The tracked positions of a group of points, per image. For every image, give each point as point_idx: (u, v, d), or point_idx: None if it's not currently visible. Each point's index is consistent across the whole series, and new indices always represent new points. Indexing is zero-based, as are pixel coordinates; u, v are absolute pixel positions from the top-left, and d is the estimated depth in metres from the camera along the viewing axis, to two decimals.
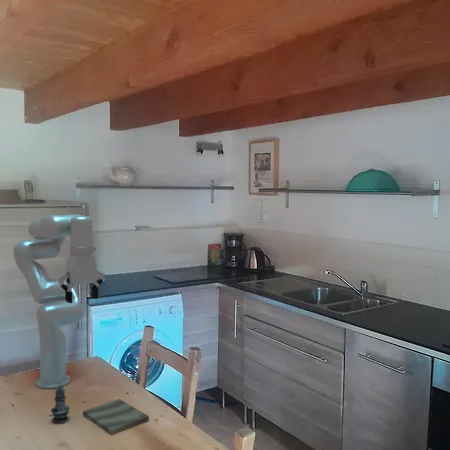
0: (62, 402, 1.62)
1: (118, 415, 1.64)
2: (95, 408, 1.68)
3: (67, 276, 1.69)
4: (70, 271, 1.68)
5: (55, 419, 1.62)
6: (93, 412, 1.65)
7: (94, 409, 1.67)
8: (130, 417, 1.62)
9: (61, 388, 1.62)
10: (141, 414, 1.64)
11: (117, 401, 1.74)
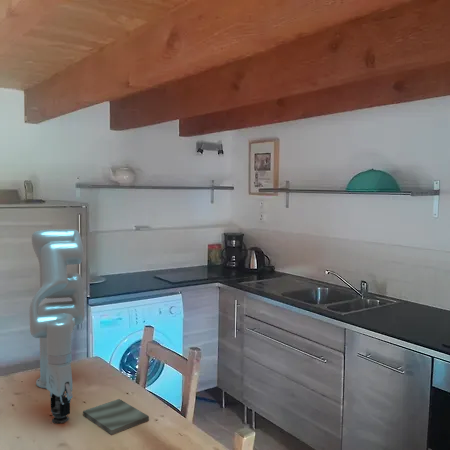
0: None
1: (118, 415, 1.64)
2: (95, 408, 1.68)
3: None
4: (71, 379, 1.60)
5: (55, 419, 1.62)
6: (93, 412, 1.65)
7: (94, 409, 1.67)
8: (130, 417, 1.62)
9: None
10: (141, 414, 1.64)
11: (117, 401, 1.74)
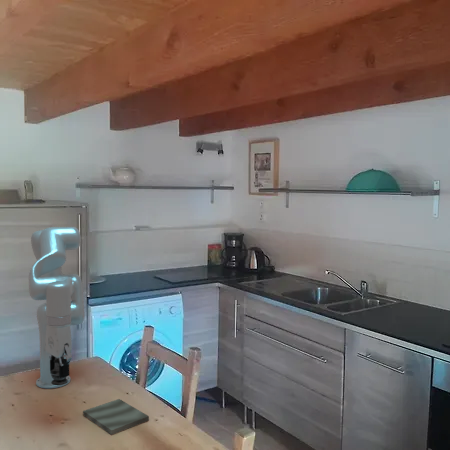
0: None
1: (118, 415, 1.64)
2: (95, 408, 1.68)
3: None
4: (70, 340, 1.59)
5: (54, 381, 1.62)
6: (93, 412, 1.65)
7: (94, 409, 1.67)
8: (130, 417, 1.62)
9: None
10: (141, 414, 1.64)
11: (117, 401, 1.74)
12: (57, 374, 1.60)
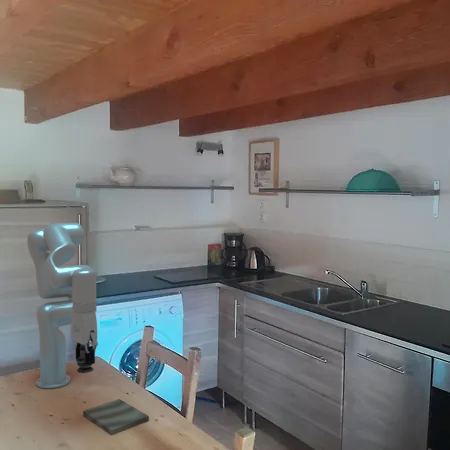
0: None
1: (118, 415, 1.64)
2: (95, 408, 1.68)
3: None
4: (96, 327, 1.59)
5: (80, 369, 1.62)
6: (93, 412, 1.65)
7: (94, 409, 1.67)
8: (130, 417, 1.62)
9: None
10: (141, 414, 1.64)
11: (117, 401, 1.74)
12: (83, 361, 1.60)
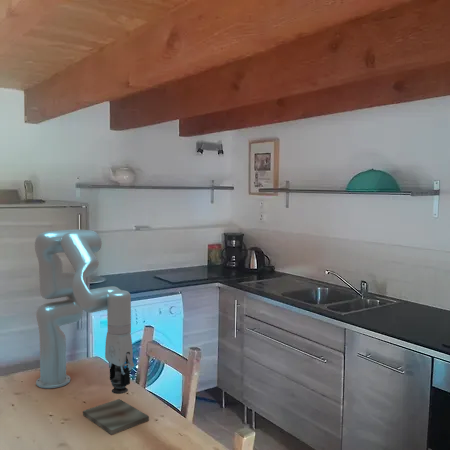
0: None
1: (118, 415, 1.64)
2: (95, 408, 1.68)
3: None
4: (131, 349, 1.61)
5: (115, 390, 1.63)
6: (93, 412, 1.65)
7: (94, 409, 1.67)
8: (130, 417, 1.62)
9: None
10: (141, 414, 1.64)
11: (117, 401, 1.74)
12: (118, 383, 1.61)
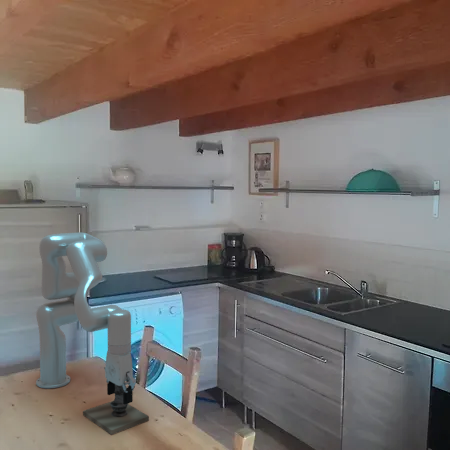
0: (122, 396, 1.63)
1: None
2: (95, 408, 1.68)
3: None
4: (131, 368, 1.61)
5: (114, 412, 1.64)
6: (93, 412, 1.65)
7: (94, 409, 1.67)
8: (130, 417, 1.62)
9: None
10: (141, 414, 1.64)
11: None
12: (118, 406, 1.62)
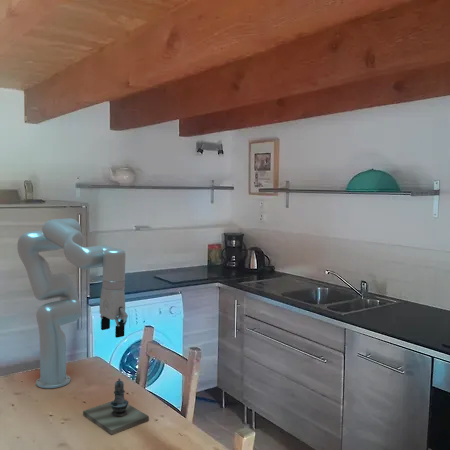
0: (121, 396, 1.63)
1: None
2: (95, 408, 1.68)
3: None
4: (124, 304, 1.69)
5: (114, 413, 1.64)
6: (93, 412, 1.65)
7: (94, 409, 1.67)
8: (130, 417, 1.62)
9: (120, 382, 1.63)
10: (141, 414, 1.64)
11: None
12: (118, 406, 1.62)
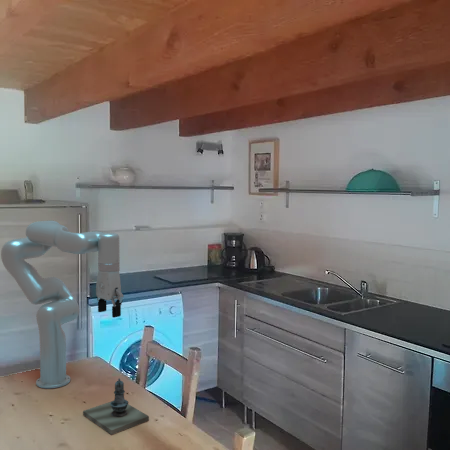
0: (122, 396, 1.63)
1: None
2: (95, 408, 1.68)
3: None
4: (119, 285, 1.77)
5: (114, 413, 1.64)
6: (93, 412, 1.65)
7: (94, 409, 1.67)
8: (130, 417, 1.62)
9: (120, 382, 1.64)
10: (141, 414, 1.64)
11: None
12: (118, 406, 1.62)
